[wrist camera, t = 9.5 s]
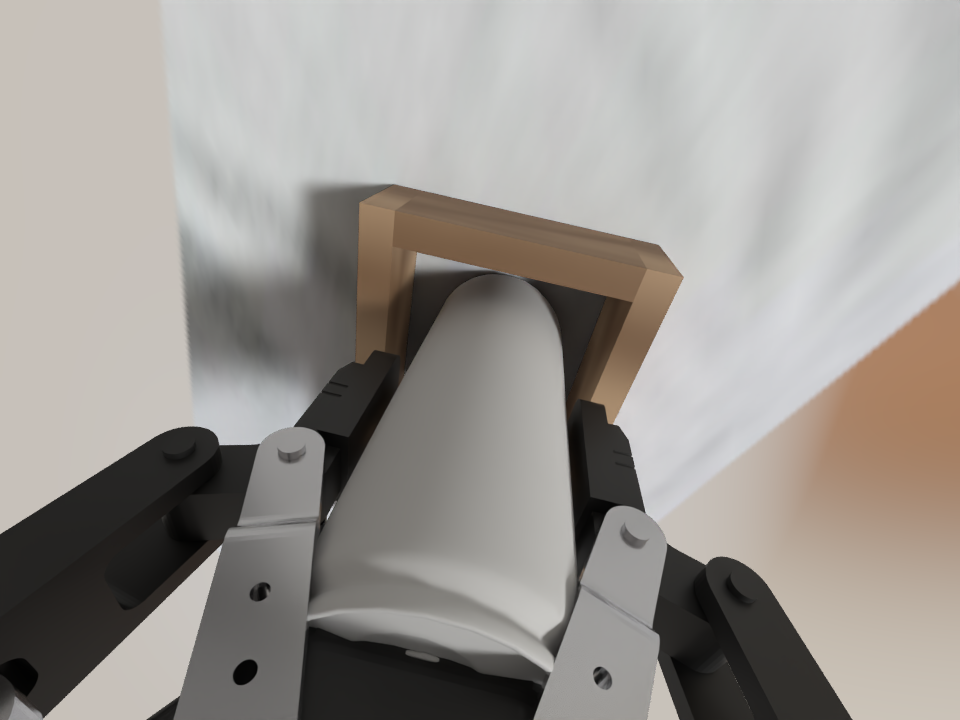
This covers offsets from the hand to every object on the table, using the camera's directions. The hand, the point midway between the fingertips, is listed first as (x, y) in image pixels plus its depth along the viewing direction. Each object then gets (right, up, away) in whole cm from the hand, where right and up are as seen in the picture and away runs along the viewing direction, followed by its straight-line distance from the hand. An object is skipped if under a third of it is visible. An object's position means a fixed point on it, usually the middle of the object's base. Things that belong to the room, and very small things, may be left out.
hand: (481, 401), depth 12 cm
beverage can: (+1, +3, +4) cm, 5 cm away
